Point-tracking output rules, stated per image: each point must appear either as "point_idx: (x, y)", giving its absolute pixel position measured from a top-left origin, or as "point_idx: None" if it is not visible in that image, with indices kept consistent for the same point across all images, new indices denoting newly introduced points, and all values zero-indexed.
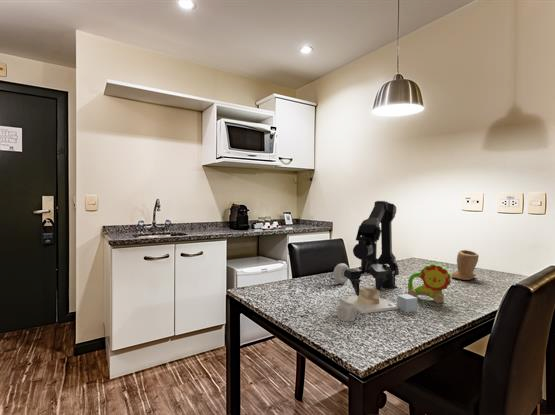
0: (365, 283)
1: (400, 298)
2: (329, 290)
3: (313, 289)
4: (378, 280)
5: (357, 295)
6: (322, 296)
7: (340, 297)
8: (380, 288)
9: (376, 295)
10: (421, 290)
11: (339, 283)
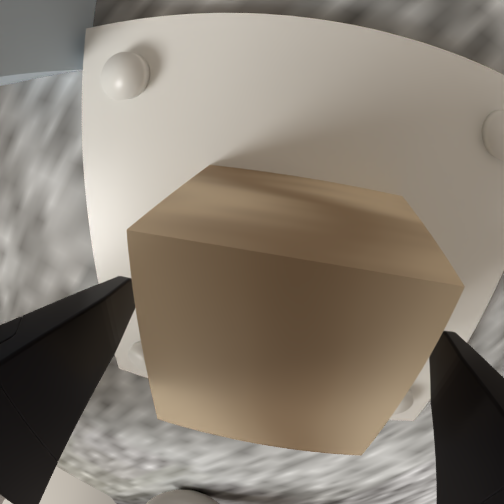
0: (88, 445)
1: (12, 16)
2: (318, 485)
3: (373, 499)
4: (17, 425)
5: (453, 339)
6: (434, 451)
7: (414, 415)
8: (63, 305)
9: (224, 206)
10: None
11: (209, 497)
